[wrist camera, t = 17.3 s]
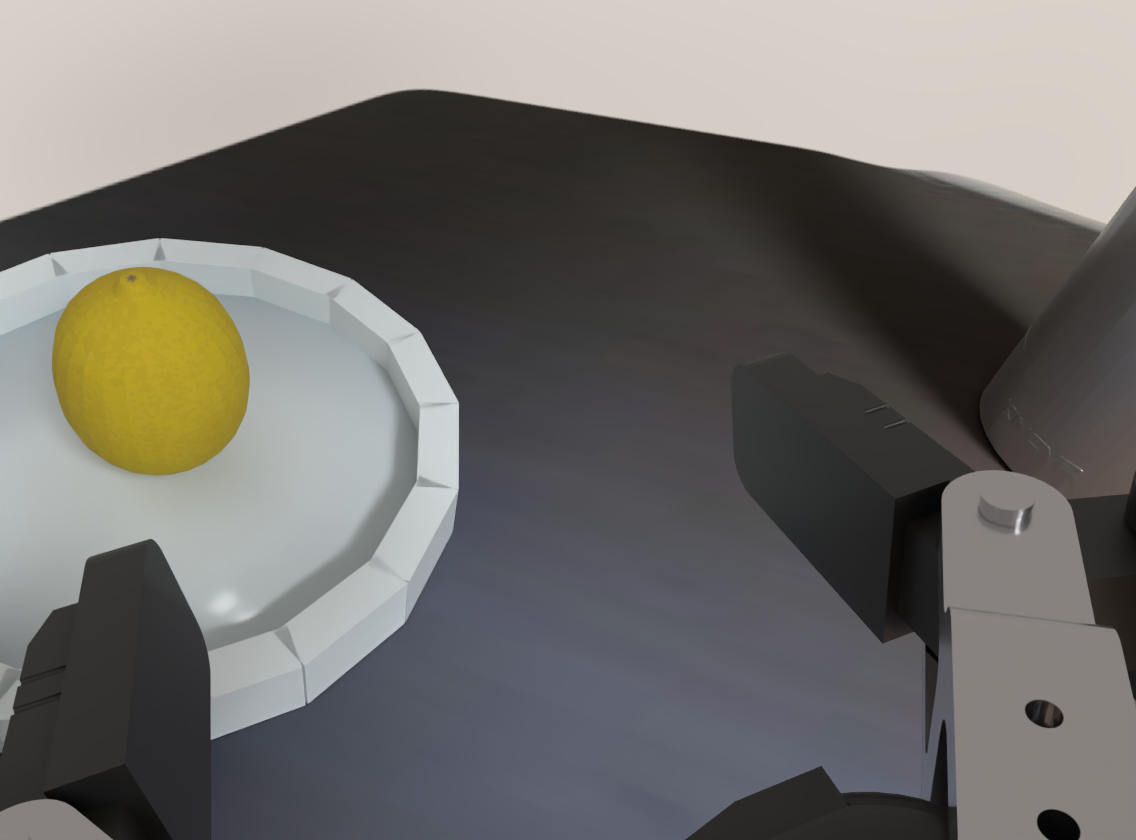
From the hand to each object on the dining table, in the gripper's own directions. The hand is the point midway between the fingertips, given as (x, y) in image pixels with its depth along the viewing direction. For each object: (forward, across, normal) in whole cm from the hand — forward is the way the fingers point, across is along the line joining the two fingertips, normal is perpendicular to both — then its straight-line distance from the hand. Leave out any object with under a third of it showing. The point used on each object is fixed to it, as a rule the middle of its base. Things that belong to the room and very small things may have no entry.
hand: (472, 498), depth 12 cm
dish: (+20, +8, +10) cm, 23 cm away
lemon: (+19, +8, +9) cm, 23 cm away
